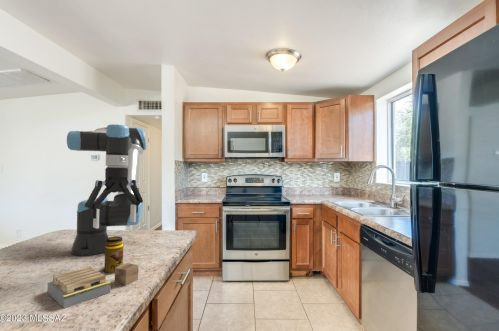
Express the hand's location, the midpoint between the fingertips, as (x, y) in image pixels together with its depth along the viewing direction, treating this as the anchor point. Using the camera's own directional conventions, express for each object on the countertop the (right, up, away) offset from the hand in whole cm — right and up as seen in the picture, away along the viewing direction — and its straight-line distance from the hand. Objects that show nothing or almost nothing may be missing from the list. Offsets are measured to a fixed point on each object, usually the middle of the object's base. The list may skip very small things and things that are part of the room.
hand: (115, 224), depth 97 cm
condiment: (-1, -17, -1) cm, 17 cm away
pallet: (-2, -13, -18) cm, 22 cm away
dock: (-2, -16, -18) cm, 24 cm away
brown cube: (+8, -17, -9) cm, 21 cm away
